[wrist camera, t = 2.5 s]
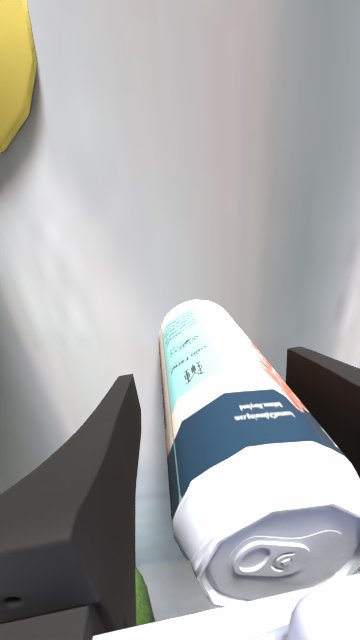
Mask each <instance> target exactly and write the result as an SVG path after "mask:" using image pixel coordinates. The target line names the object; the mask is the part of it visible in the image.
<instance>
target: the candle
mask: <svg viewBox="0 0 360 640" xmlns="http://www.w3.org/2000/svg"><path fill="white" fill-rule="evenodd" d="M36 69H37V58H36V53H35V47H34V41H33V35H32V30H31V24H30V18H29V12H28V7H27V1H26V0H0V153H1V152H3V151H5V150H6V149H7V147H8V146H9V144H10V143H11V141H12V140H13V138H14V137H15V135H16V134H17V132H18V131H19V129H20V128H21V126H22V125H23V123H24V122H25V120H26V119H27V117H28V116H29V113H30V106H31V100H32V94H33V88H34V82H35V75H36Z"/></svg>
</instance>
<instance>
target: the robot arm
mask: <svg viewBox="0 0 360 640" xmlns="http://www.w3.org/2000/svg"><path fill="white" fill-rule="evenodd" d="M286 385H287V386H288V387H289V388H290V389H291V391H292V392H293V393H294V394H295V395H296V397H297V398H298V399H299V400H300V402H301V403H302V404H303V405H304V406H305V408H306V409H307V410H308V411H309V413H310V414H311V415H312V416H313V417H314V419H315V420H316V421H317V422H318V423H319V425H320V426H321V427H322V428H323V430H324V431H325V432H326V433H327V434H328V436H329V437H330V438H331V439H332V440H333V442H334V443H335V444H336V445H337V447H338V448H339V449H340V450H341V451H342V453H343V454H344V455H345V456H346V457H347V459H348V460H349V461H350V462H351V464H352V465H353V467H354V469H355V471H356V472H357V474H358V476H359V478H360V369H359V368H356V367H353V366H351V365H348V364H345V363H343V362H340V361H338V360H335V359H332V358H330V357H327V356H325V355H322V354H320V353H317V352H315V351H312V350H309V349H306V348H303V347H295V348H289V349H287V369H286ZM140 439H141V409H140V404H139V400H138V395H137V391H136V386H135V382H134V377H133V374H130V375H124V376H119V377H118V378H117V380H116V381H115V383H114V384H113V386H112V387H111V389H110V390H109V391H108V393H107V394H106V396H105V397H104V398H103V400H102V401H101V403H100V404H99V405H98V407H97V408H96V409H95V411H94V412H93V413H92V414H91V415H90V417H89V418H88V419H87V420H86V421H85V423H84V424H83V425H82V426H81V427H80V428H79V429H78V430H77V432H76V433H75V434H74V435H73V436H72V437H71V438H70V439H69V440H68V441H67V442H66V443H65V444H63V445H62V446H61V447H60V448H59V449H58V450H57V451H56V452H55V453H53V454H52V455H51V456H50V457H49V458H48V459H47V460H46V461H44V462H43V463H42V464H41V465H40V466H38V467H37V468H36V469H35V470H33V471H32V472H31V473H30V474H28V475H27V476H26V477H24V478H23V479H22V480H20V481H19V482H18V483H17V484H15V485H14V486H12V487H11V488H10V489H8V490H7V491H5V492H4V493H2V494H1V495H0V640H360V573H358V574H354V575H349V576H345V577H341V578H338V579H336V580H333V581H330V582H327V583H324V584H322V585H319V586H315V587H311V588H306V589H302V590H297V591H293V592H288V593H284V594H279V595H275V596H270V597H266V598H261V599H257V600H252V601H248V602H243V603H239V604H234V605H230V606H225V607H221V608H216V609H212V610H207V611H203V612H198V613H194V614H189V615H185V616H180V617H176V618H171V619H167V620H162V621H158V622H153V623H149V624H144V625H140V626H137V624H136V575H135V492H136V478H137V468H138V459H139V449H140Z"/></svg>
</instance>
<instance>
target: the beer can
mask: <svg viewBox="0 0 360 640" xmlns="http://www.w3.org/2000/svg"><path fill="white" fill-rule="evenodd" d="M158 339H159V353H160V367H161V380H162V394H163V408H164V422H165V435H166V449H167V463H168V477H169V490H170V504H171V518H172V526H173V531H174V539H175V541H176V542H177V544H178V546H179V548H180V550H181V551H182V553H183V555H184V556H185V557H186V558H187V559H188V560H189V561H190V562H191V565H192V568H193V571H194V574H195V576H196V579H197V581H198V583H199V584H200V586H201V587H202V589H203V591H204V592H205V594H206V596H207V598H208V599H209V601H210V603H211V604H212V605H213V606H217V607H225V606H230V605H234V604H239V603H243V602H248V601H252V600H257V599H261V598H266V597H270V596H275V595H279V594H284V593H288V592H293V591H297V590H302V589H306V588H311V587H315V586H319V585H322V584H324V583H327V582H330V581H333V580H336V579H338V578H341V577H345V576H349V575H354V574H355V573H356V572H357V570H358V569H359V568H360V478H359V476H358V474H357V472H356V471H355V469H354V467H353V465H352V464H351V462H350V461H349V460H348V459H347V457H346V456H345V455H344V454H343V453H342V451H341V450H340V449H339V448H338V447H337V445H336V444H335V443H334V442H333V440H332V439H331V438H330V437H329V436H328V434H327V433H326V432H325V431H324V430H323V428H322V427H321V426H320V425H319V423H318V422H317V421H316V420H315V419H314V417H313V416H312V415H311V414H310V413H309V411H308V410H307V409H306V408H305V406H304V405H303V404H302V403H301V402H300V400H299V399H298V398H297V397H296V395H295V394H294V393H293V392H292V391H291V389H290V388H289V387H288V386H287V385H286V383H285V382H284V381H283V380H282V378H281V377H280V376H279V375H278V374H277V372H276V371H275V370H274V369H273V368H272V366H271V365H270V364H269V363H268V361H267V360H266V359H265V358H264V357H263V355H262V354H261V353H260V352H259V351H258V349H257V348H256V347H255V346H254V344H253V343H252V342H251V341H250V340H249V338H248V337H247V336H246V335H245V333H244V332H243V331H242V330H241V329H240V327H239V326H238V325H237V324H236V323H235V321H234V320H233V319H232V318H231V316H230V315H229V314H228V313H227V312H226V311H225V310H224V309H223V308H222V307H220V306H219V305H217V304H216V303H213V302H210V301H206V300H192V301H187V302H185V303H182V304H180V305H178V306H177V307H175V308H174V309H172V310H171V311H170V312H169V313H168V314H167V316H166V317H165V318H164V320H163V322H162V324H161V326H160V331H159V338H158Z"/></svg>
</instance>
